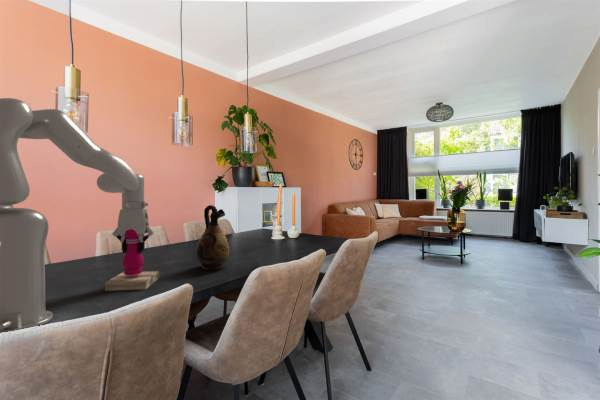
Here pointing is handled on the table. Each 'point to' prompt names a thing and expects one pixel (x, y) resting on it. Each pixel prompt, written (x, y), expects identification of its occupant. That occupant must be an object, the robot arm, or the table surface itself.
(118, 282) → the birch stand
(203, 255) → the ceramic jug
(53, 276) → the table surface
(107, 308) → the table surface
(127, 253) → the pepper mill
